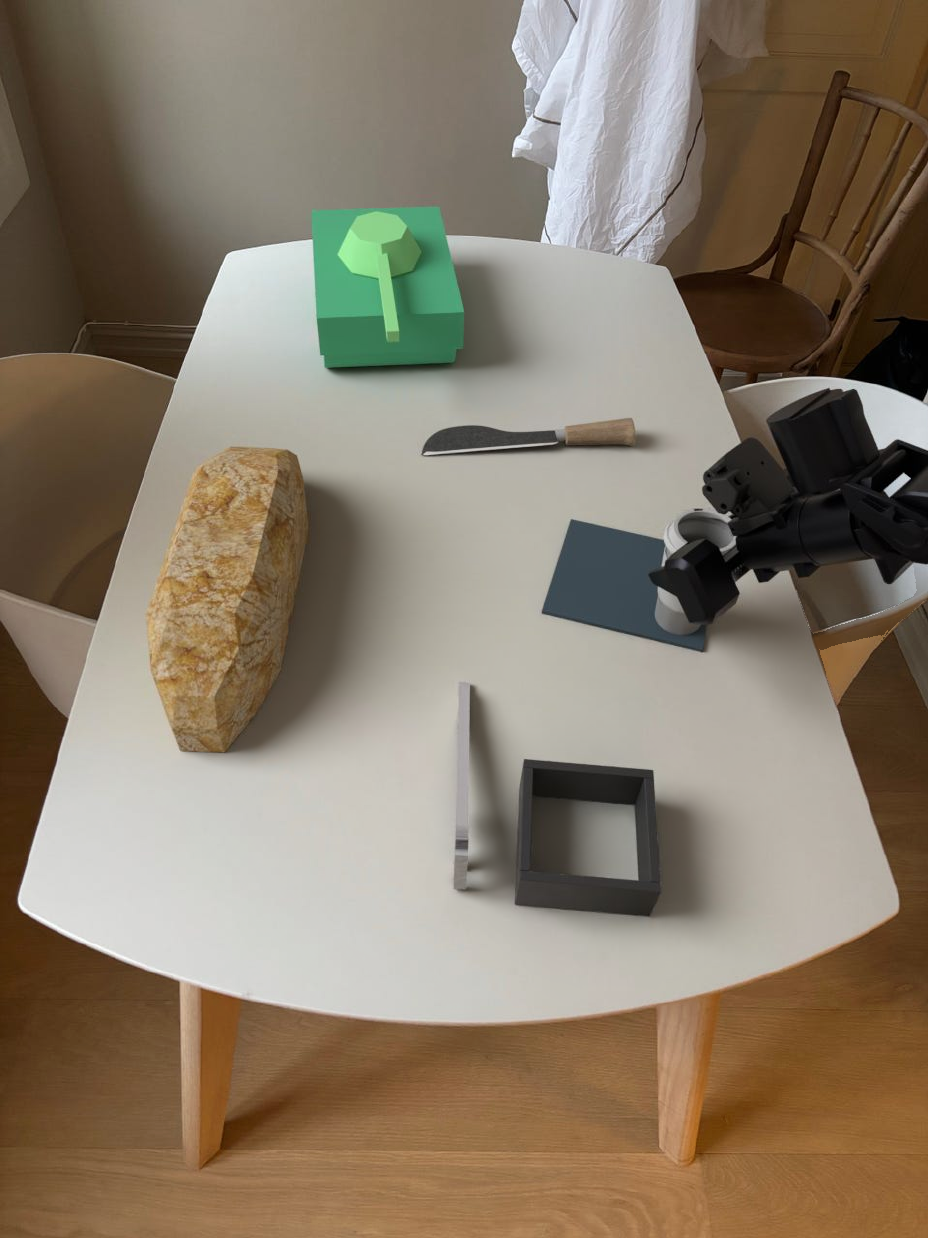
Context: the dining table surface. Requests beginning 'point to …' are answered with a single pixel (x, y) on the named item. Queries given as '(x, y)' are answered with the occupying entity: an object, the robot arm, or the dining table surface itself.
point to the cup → (676, 535)
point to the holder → (593, 787)
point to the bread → (227, 594)
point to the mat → (611, 583)
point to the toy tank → (385, 287)
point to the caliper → (462, 789)
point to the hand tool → (528, 437)
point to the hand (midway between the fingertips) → (681, 553)
